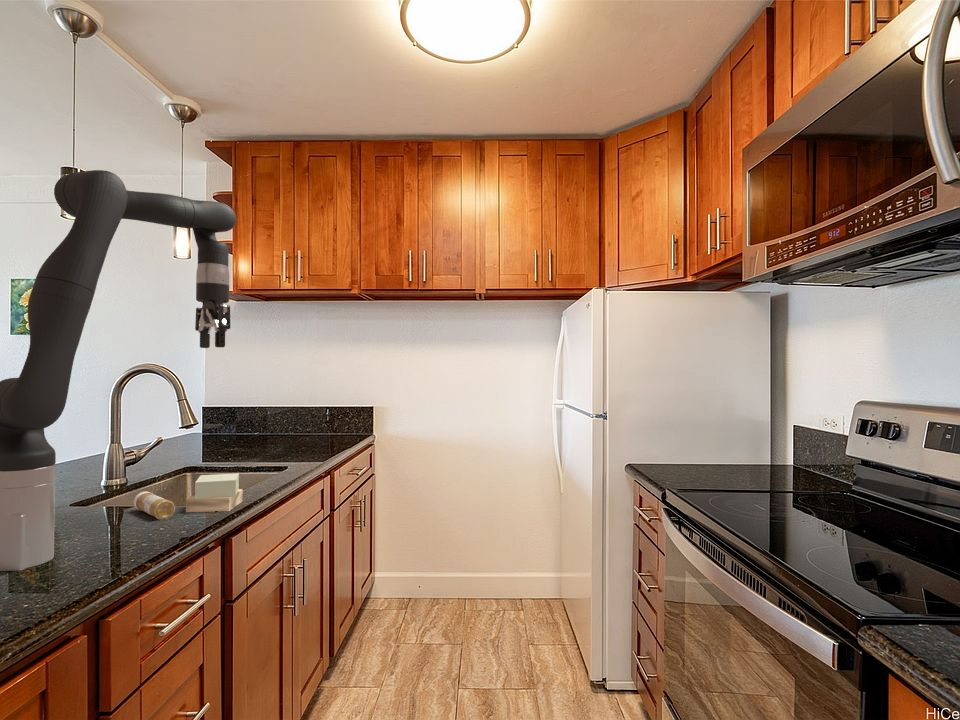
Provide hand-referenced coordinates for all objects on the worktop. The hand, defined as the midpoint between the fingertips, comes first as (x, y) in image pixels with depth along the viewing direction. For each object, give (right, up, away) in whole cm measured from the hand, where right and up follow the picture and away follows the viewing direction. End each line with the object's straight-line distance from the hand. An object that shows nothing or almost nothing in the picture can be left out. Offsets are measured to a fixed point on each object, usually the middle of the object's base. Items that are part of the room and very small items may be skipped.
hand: (212, 347), depth 140 cm
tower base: (+1, -41, -1) cm, 41 cm away
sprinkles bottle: (-5, -38, -12) cm, 40 cm away
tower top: (+2, -37, 0) cm, 37 cm away
